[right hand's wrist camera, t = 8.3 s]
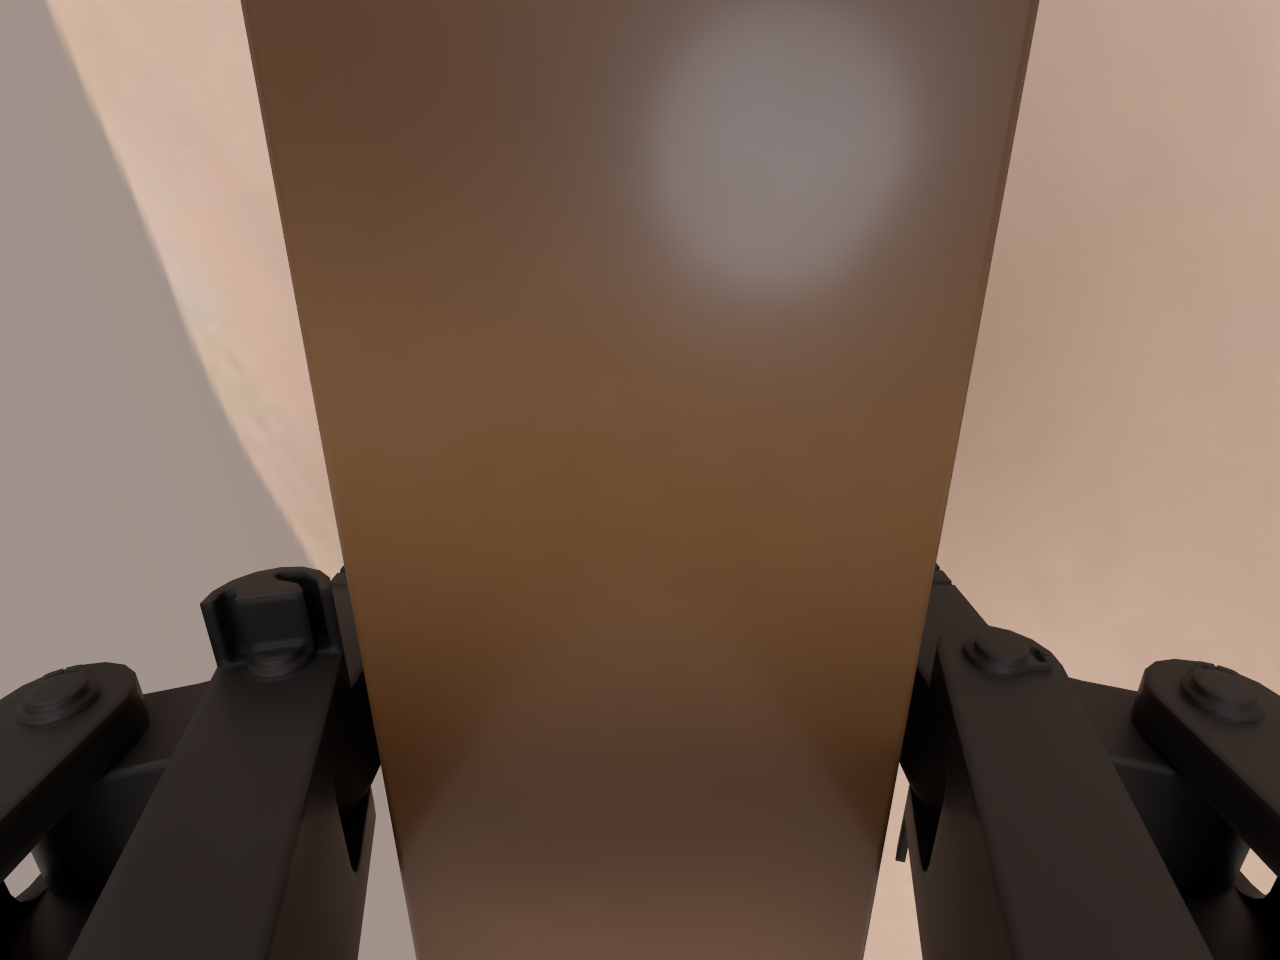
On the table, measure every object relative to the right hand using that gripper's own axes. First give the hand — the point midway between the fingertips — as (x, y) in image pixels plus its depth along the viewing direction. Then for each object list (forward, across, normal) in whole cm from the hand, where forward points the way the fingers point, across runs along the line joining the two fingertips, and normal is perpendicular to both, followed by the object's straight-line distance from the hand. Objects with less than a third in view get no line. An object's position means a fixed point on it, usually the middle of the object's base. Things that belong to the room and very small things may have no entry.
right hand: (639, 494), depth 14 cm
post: (+1, 0, -31) cm, 31 cm away
